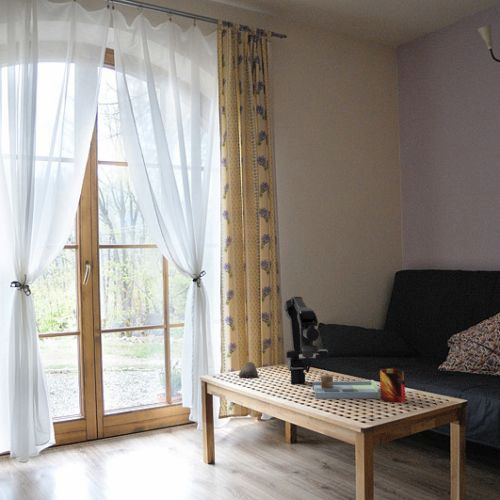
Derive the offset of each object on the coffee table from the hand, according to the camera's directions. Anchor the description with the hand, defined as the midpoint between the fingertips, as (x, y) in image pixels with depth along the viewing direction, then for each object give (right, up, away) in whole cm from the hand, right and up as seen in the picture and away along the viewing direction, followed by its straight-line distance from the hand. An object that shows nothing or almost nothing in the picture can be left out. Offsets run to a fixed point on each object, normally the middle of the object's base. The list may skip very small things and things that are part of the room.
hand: (307, 372), depth 268 cm
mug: (+35, -8, -19) cm, 41 cm away
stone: (-27, -10, +37) cm, 46 cm away
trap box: (+16, -8, -5) cm, 19 cm away
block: (+9, -6, -1) cm, 11 cm away
